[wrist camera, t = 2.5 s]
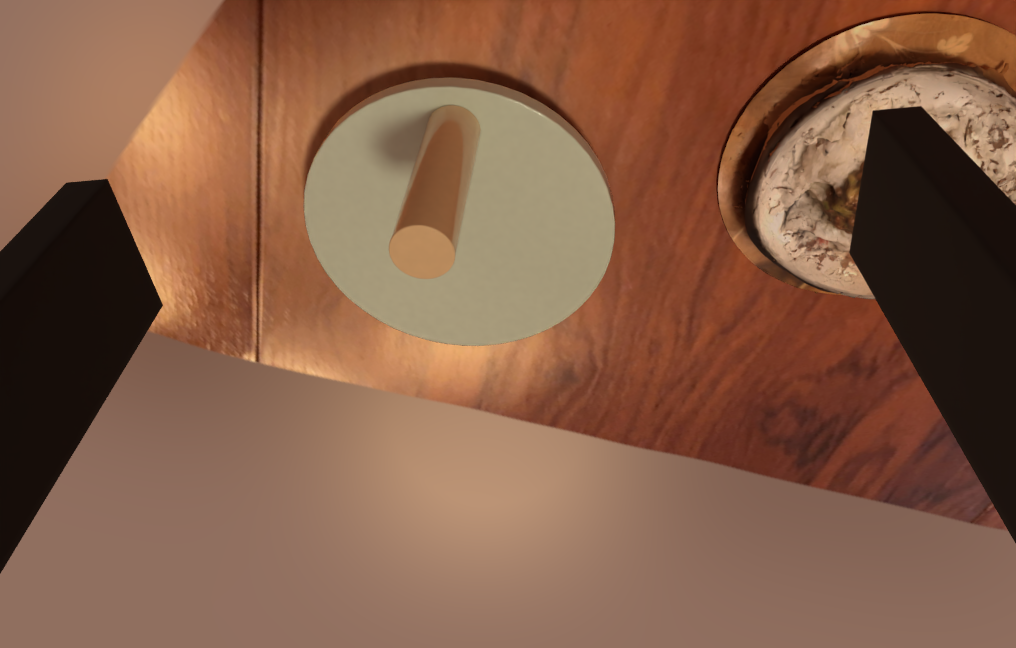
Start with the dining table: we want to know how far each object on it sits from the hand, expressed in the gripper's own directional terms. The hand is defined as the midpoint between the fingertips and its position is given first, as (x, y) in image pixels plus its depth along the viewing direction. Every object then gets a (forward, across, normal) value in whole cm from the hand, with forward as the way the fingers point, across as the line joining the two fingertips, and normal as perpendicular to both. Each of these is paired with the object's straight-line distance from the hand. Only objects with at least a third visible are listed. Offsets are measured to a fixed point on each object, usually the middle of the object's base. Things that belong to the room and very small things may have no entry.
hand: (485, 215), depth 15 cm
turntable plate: (+23, -4, -13) cm, 26 cm away
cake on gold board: (+23, +16, -12) cm, 31 cm away
